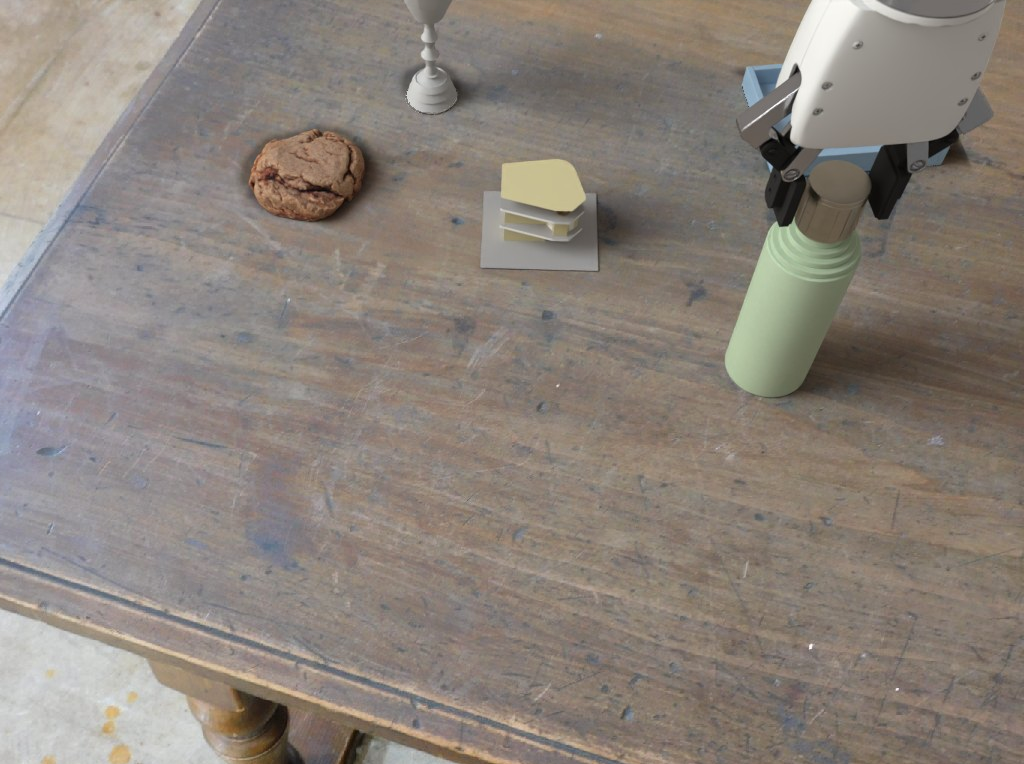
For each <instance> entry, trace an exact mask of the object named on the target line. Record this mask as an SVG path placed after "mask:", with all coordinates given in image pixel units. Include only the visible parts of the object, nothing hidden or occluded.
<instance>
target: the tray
mask: <svg viewBox="0 0 1024 764" xmlns="http://www.w3.org/2000/svg"><path fill="white" fill-rule="evenodd" d="M783 64H784V63H773V64H760V65H747V66H746V67H745V72H744V75H743V79H742V82H741V87H742V86H743V89H742V91H743V90H744V92H743V95H744V94H745V95H744V98H745V97H746V98H745V100H746V99H747V101H746V103H747V102H748V104H747V107H748V106H749V107H748V109H749V108H750V107H751V106H753V105H754V104H755V103H757V102H758V101H759V100H761V99H762V98H763V97H765V96H766V95H767V94H769V93H770V92H771V91H773V90H774V89H775V88H776V84H777V80H778V77H779V74H780V72H781V69H782V66H783ZM791 114H792V113H790V114H789V115H788V116H786V117H785V118H784V119H782V120H781V121H779V122H778V123H777V124H775V125H774V126H773V127H774V128H775V129H776V130H777V131H778V132H780V133H781V131H782V130H783V129H784V127H785V126H786V125H787V124H788V122H789V121H790V120H791ZM881 146H883V145H877V146H863V147H848V148H829V149H823V150H822V152H821V153H820V154H819V155H818V156H817V157H816V159H815V160H814V161H813V162H812V163H811V165H810V166H809V167H808V168H807V169H806V171H805V172H804V173H803V174H804V177H807V176H808V177H809V175H810V173H811V171H812V169H813V168H814V167H815V166H817V165H818V164H820V163H822V162H825V161H831V160H841V161H846V162H850V163H852V164H855V165H857V166H858V167H860V168H861V169H863V170H864V171H865V172H870V170H871V168H872V166H873V163H874V161H875V159H876V157H877V154H878V152H879V150H880V148H881ZM798 147H799V146H798V145H796V146H795V148H796V149H797V148H798ZM950 148H951V145H950V146H949V147H947V148H945V149H944V150H942V151H940V152H939V153H937V154H935V155H934V156H932V157H930V158H929V159H928V165H927V167H935V165H936V166H941V165H942V163H943V161H944V160H945V158H946V156H947V154H948V152H949V151H950ZM766 164H767V167H768V170H769V172H770V174H771V171H772V168H773V166H772V165H771V164H770V163H769V162H767V161H766ZM933 165H934V166H933Z"/></svg>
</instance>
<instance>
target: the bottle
mask: <svg viewBox="0 0 1024 764" xmlns="http://www.w3.org/2000/svg"><path fill="white" fill-rule="evenodd" d="M861 241H862V240H861V238H860V235H859V233H858V232H857V230H856V229H855V230H853V232H852V234H851V235H850V236H849V237H848V238H846V239H845V240H843V241H840V242H837V243H821V242H817V241H814V240H811V239H809V238H808V237H806V236H805V235H803V234H802V233H801V232H800V231H799V229H798V228H797V226H796V224H795V218H794V219H793V221H792V224H789V226H788V227H779V225H778V222H777V220H776V221H775V222H774V223H773V224H772V225H771V226H770V228H769V229H768V232H767V234H766V238H765V240H764V242H763V246H762V248H761V251H760V254H759V257H758V260H757V263H756V265H755V269H754V270H753V271H754V272H753V274H752V277H751V280H750V284H749V286H748V289H747V291H746V294H745V297H744V301H743V303H742V306H741V308H740V311H739V314H738V317H737V320H736V323H735V325H734V329H733V331H732V335H731V337H730V340H729V343H728V346H727V348H726V352H725V354H724V364H725V365H724V366H725V369H726V372H727V374H728V376H729V377H730V379H731V380H732V381H733V382H734V384H736V385H737V386H738V387H739V388H740V389H742V390H743V391H745V392H746V393H749V394H752V395H754V396H758V397H763V398H780V397H785V396H787V395H789V394H791V393H792V394H793V392H795V391H796V390H798V389H799V388H800V387H801V386H802V384H803V383H804V382H805V380H806V377H807V376H808V373H809V371H810V369H811V368H812V364H813V363H814V360H815V358H816V356H817V354H818V352H819V350H820V348H821V346H822V343H823V342H824V339H825V337H826V335H827V333H828V331H829V329H830V327H831V325H832V322H833V320H834V319H835V316H836V314H837V312H838V309H839V308H840V306H841V303H842V301H843V299H844V297H845V295H846V293H847V291H848V289H849V287H850V285H851V282H852V281H853V278H854V276H855V274H856V273H857V269H858V268H859V265H860V263H861V261H862V257H863V248H862V243H861Z"/></svg>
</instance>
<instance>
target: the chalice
mask: <svg viewBox="0 0 1024 764" xmlns="http://www.w3.org/2000/svg"><path fill="white" fill-rule="evenodd" d="M403 2H404V4H405V5H406V7H407V8H408V10H409V12H410V13H411V15H412V17H413V18H414V20H415V21H416V22H418V23H419V24H422V25H423V26H424V28H423V33H422V34H421V35H420V39H421V40H422V42H423V43H424V49H423V50H421V52H420V57H421V58H422V59H423V60H424V62H425V67H423V68H421V69H419V70H418V71H417V72H416V73H414V75H413V77H412V79H411V82H410V83H409V85H408V89H407V90H408V91H407V90H406V92H407V95H406V94H405V96H407V99H408V103H409V102H410V105H411V106H412V107H414V108H415V109H416V110H419V111H421V112H431V113H433V112H440V111H443V110H444V109H448V108H449V106H450V107H451V106H452V105H453V103H454V102H455V100H456V97H457V93H458V91H457V92H456V90H457V88H456V87H455V85H454V82H453V81H452V79H451V77H450V75H449V73H447V71H445V70H444V69H443V68H441V67H437V66H436V62H437V59H439V57H440V54H441V53H440V51H439V49H437V48H436V46H435V45H436V42H437V41H438V39H439V34H438V32H436V28H435V24H437V23H439V22H440V21H442V20H443V18H444V17H445V15H446V13H447V10H449V7H450V6H451V3H452V2H453V0H403Z"/></svg>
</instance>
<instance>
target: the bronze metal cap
mask: <svg viewBox="0 0 1024 764" xmlns="http://www.w3.org/2000/svg"><path fill="white" fill-rule="evenodd" d="M868 174H869V173H867V171H864V170H863V169H861V168H860V167H858V166H857V165H855V164H852V163H850V162H846V161H841V160H831V161H825V162H822V163H820V164H818V165H817V166H815V167H814V168H813V169H812V171H811V173H810V175H809V176H808V178H806V188H805V190H804V193H803V196H802V198H801V201H800V203H799V206H798V209H797V211H796V214H795V216H794V218H795V224H796V226H797V228H798V229H799V231H800V232H801V233H802V234H803V235H805V236H806V237H808V238H809V239H811V240H814V241H817V242H821V243H837V242H840V241H843V240H845V239H846V238H848V237H849V236H850V235H851V234H852V232H853V230H856V228H857V226H858V224H859V221H860V219H861V217H862V215H863V212H864V210H865V208H866V206H867V204H868V202H869V201H868V197H869V194H870V192H871V189H872V183H871V180H870V178H869V176H868Z"/></svg>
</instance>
